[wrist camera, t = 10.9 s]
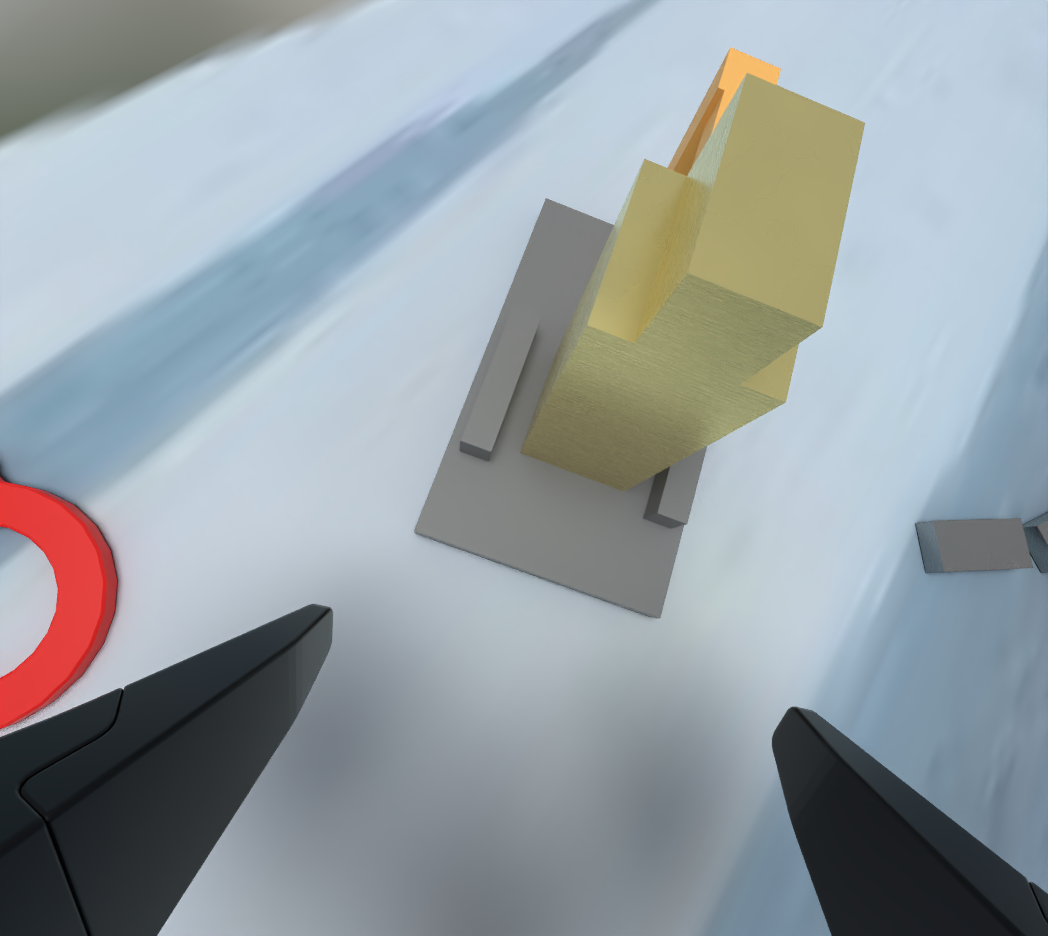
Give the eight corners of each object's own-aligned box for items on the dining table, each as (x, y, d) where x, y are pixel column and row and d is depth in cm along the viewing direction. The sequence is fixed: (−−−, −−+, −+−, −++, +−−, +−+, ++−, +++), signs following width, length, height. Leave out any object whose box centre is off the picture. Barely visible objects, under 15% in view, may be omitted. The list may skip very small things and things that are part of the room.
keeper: (650, 616, 21) (819, 640, 12) (415, 533, 21) (387, 484, 11) (735, 290, 25) (913, 106, 16) (542, 213, 25) (602, -27, 15)
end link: (624, 491, 21) (880, 350, 9) (519, 452, 21) (627, 248, 8) (652, 394, 22) (915, 144, 10) (554, 356, 22) (694, 50, 10)
